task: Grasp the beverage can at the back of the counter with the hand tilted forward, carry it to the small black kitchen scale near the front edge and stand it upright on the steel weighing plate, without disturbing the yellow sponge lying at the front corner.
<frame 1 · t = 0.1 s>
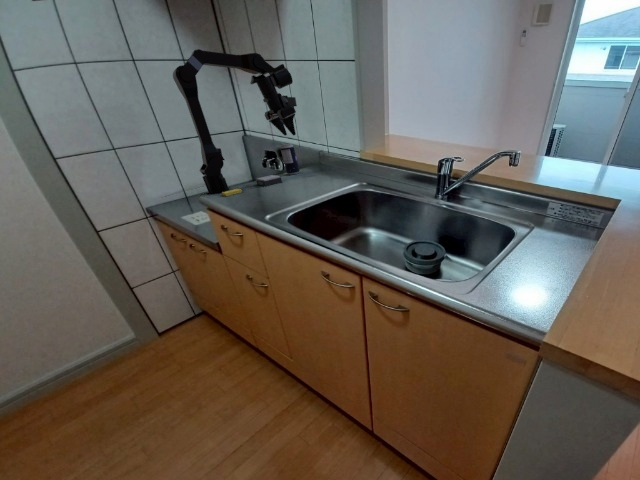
hand: (290, 135, 135), 15 cm above the worktop, tool pointing down, fingers open, 9 cm apart
kitchen scale: (269, 183, 129), on the worktop
sponge: (232, 193, 119), on the worktop
beverage can: (293, 174, 145), on the worktop
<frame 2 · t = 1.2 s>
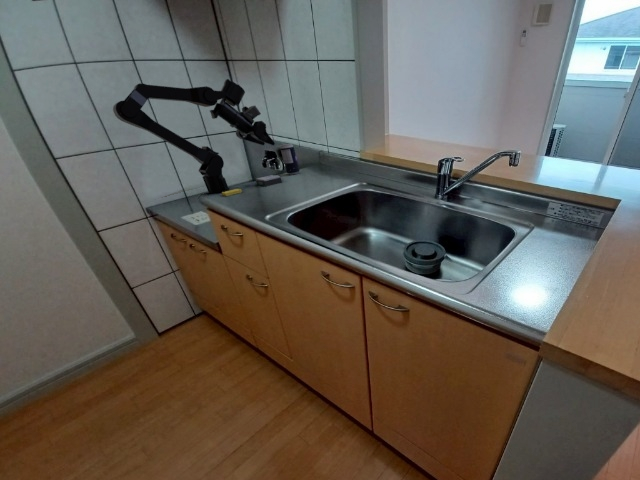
hand: (269, 144, 133), 13 cm above the worktop, tool tilted 45°, fingers open, 9 cm apart
nothing on the worktop moved.
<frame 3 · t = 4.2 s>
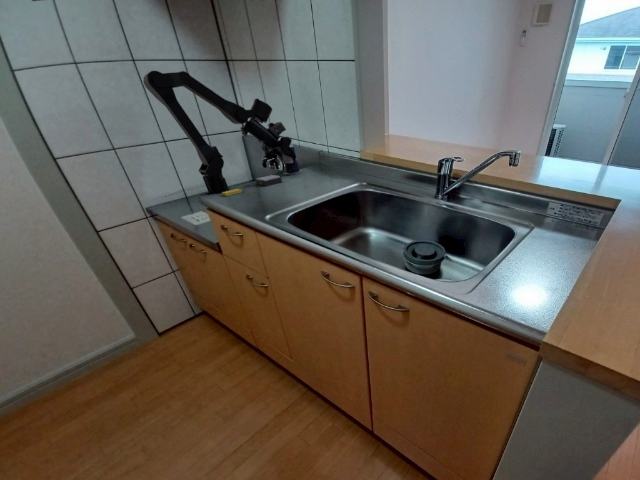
hand: (292, 157, 142), 7 cm above the worktop, tool tilted 45°, fingers closed on beverage can, 5 cm apart
beverage can: (293, 174, 145), on the worktop, touching gripper
everything else where it was.
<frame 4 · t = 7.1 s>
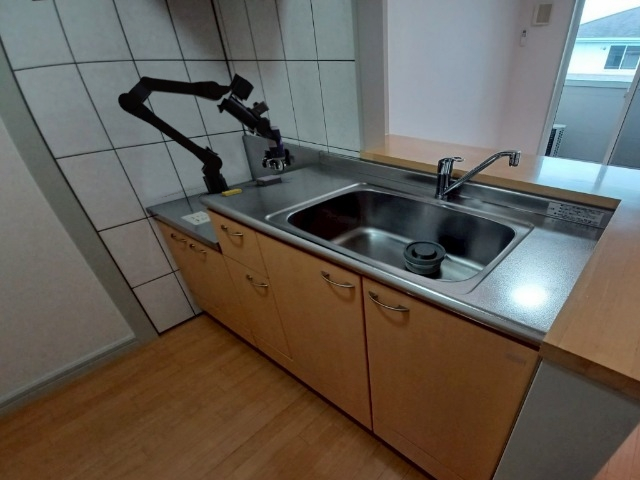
hand: (278, 141, 130), 14 cm above the worktop, tool tilted 45°, fingers closed on beverage can, 5 cm apart
beverage can: (279, 159, 132), point 7 cm above the worktop, touching gripper
everything else where it was.
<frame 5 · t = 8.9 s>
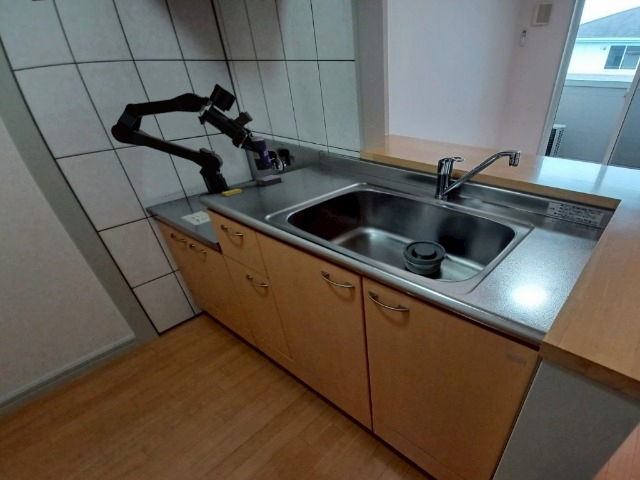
hand: (263, 152, 124), 11 cm above the worktop, tool tilted 45°, fingers closed on beverage can, 5 cm apart
beverage can: (265, 171, 127), point 5 cm above the worktop, touching gripper
everything else where it was.
when the fingers open (9 cm above the worktop, at t = 10.1 s): beverage can stays where it is, resting on kitchen scale.
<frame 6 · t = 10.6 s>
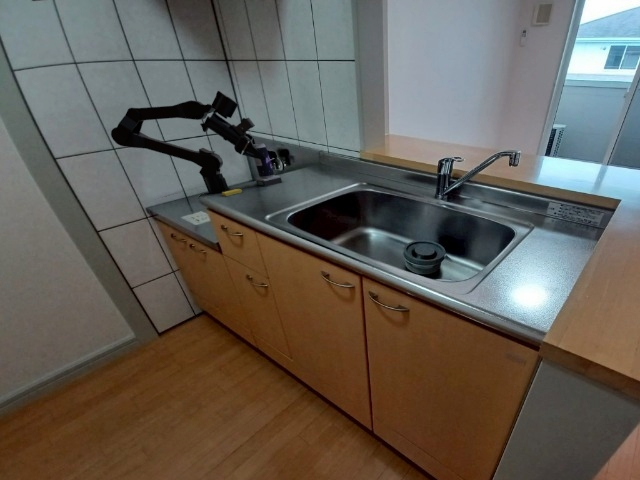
hand: (266, 157, 125), 9 cm above the worktop, tool tilted 45°, fingers open, 9 cm apart
beverage can: (267, 177, 128), point 2 cm above the worktop, touching kitchen scale
everything else where it was.
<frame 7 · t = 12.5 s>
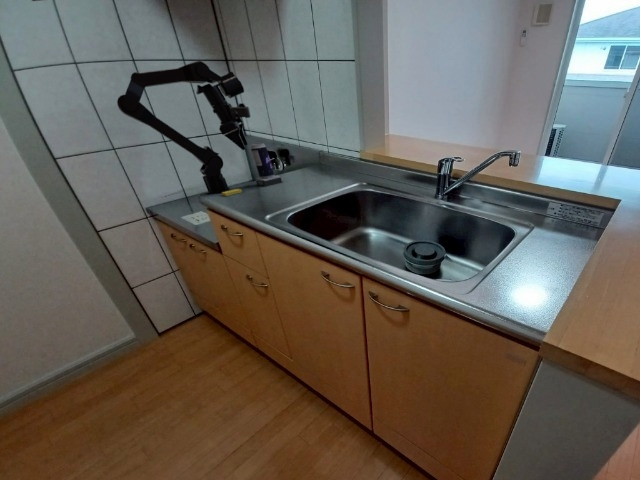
hand: (245, 147, 126), 14 cm above the worktop, tool tilted 15°, fingers open, 9 cm apart
nothing on the worktop moved.
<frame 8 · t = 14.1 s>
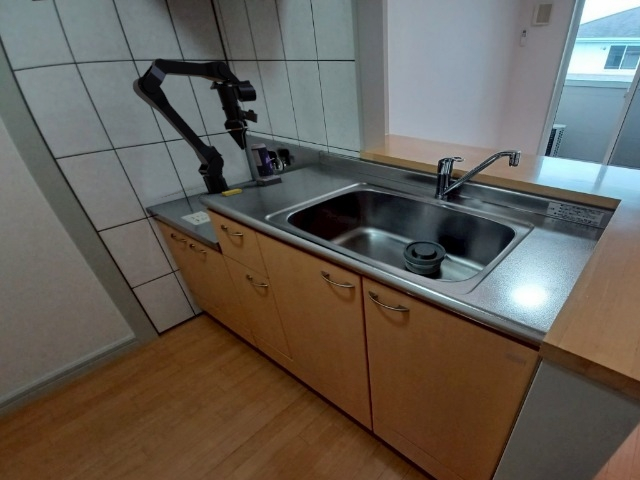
hand: (244, 148, 128), 13 cm above the worktop, tool pointing down, fingers open, 9 cm apart
nothing on the worktop moved.
at the end: beverage can 0.1 cm off-centre on the kitchen scale, point 2.2 cm above the kitchen scale's base; beverage can tilted 0°; sponge moved 0.0 cm from its start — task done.
